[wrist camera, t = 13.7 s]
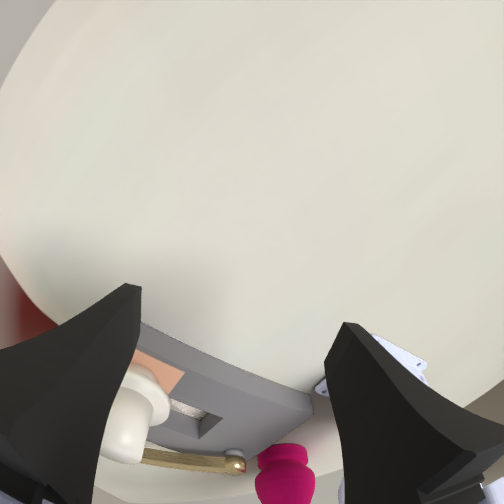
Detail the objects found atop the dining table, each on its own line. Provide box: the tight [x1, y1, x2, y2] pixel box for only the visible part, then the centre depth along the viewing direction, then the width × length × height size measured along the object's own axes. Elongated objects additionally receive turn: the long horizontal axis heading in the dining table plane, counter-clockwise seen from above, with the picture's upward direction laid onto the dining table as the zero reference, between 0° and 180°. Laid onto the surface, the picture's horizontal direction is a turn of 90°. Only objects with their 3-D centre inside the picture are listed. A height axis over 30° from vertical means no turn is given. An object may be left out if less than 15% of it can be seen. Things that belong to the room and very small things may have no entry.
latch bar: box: [139, 448, 246, 475], centre depth 25 cm, size 17×2×1 cm, turn 85°
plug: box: [99, 362, 171, 464], centre depth 19 cm, size 6×6×7 cm
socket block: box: [131, 322, 314, 462], centre depth 26 cm, size 19×14×3 cm
